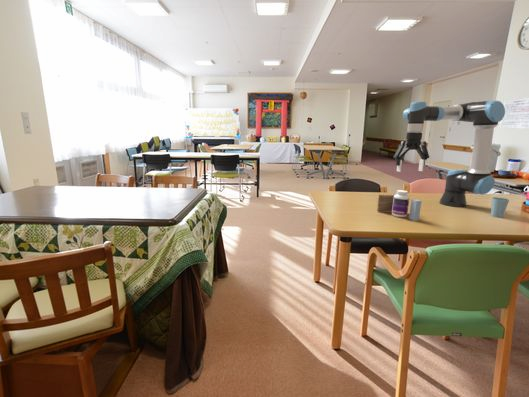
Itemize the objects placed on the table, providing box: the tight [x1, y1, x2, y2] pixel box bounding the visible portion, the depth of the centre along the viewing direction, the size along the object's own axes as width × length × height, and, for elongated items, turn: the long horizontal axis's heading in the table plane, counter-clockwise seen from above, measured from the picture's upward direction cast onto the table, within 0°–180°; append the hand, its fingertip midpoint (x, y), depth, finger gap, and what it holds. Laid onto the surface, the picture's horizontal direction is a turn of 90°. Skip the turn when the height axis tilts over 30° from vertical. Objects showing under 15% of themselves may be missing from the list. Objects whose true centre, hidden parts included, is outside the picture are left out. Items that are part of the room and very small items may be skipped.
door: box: [376, 194, 394, 213], centre depth 173 cm, size 2×12×10 cm, turn 87°
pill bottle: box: [391, 189, 410, 218], centre depth 165 cm, size 8×8×14 cm
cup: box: [490, 196, 510, 219], centre depth 168 cm, size 8×8×10 cm
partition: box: [393, 192, 423, 222], centre depth 166 cm, size 3×20×11 cm, turn 10°
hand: (409, 171), depth 162 cm, fingers open, 13 cm apart
